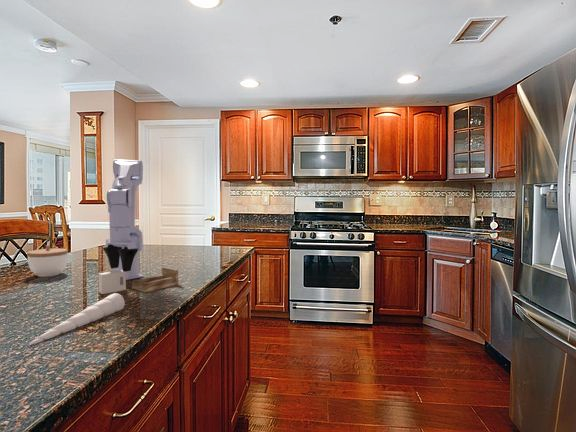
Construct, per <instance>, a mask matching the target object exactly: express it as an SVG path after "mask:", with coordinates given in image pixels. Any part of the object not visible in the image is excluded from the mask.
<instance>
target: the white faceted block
mask: <svg viewBox="0 0 576 432" xmlns="http://www.w3.org/2000/svg"><path fill="white" fill-rule="evenodd" d="M97 277H98V293H99V294H101V295H106V294H113V293H117V292H123V291H126V290H127V283H126V281H127V280H126V272H124V271H123V270H118V271H111V272H109V271H105V272H98V276H97Z"/></svg>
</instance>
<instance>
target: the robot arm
mask: <svg viewBox="0 0 576 432" xmlns="http://www.w3.org/2000/svg"><path fill="white" fill-rule="evenodd" d="M143 164H144V163H143V161H142V160H141V159H139V160H137V159H117V158H115V159H113V161H112V173H113V176H114V179H113V181H112V185H111V189H110V190H106V191H107V192H106V204H107V211H108V214H109V215H108V217H109V219H108V220H109V238H108V239H105V245H106V246H104V247H102V250H103V251H104V253H105V255H106V256H107V261H108V260H109V263H110V267H111V268H112V269H113V271H118V270H123V271H124V272H126V281H128V280H132V279H133V280H135V279H138V278H139V279H140V278H144V277H145V275H144V274H141V273H140V262H139V261H140V256H139V255H140V253H141V252H142V251H143V248H144V241H143V240H144V239H143V237H144V236H143V232H142V230H140V228H138V227H136V196H137V195H136V194H137V193H136V192H137V189H138V186H139V185H141V184H143V175H144V168H143V167H144V165H143Z"/></svg>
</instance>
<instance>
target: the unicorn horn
mask: <svg viewBox="0 0 576 432" xmlns="http://www.w3.org/2000/svg"><path fill="white" fill-rule="evenodd" d="M124 306H125V299H124V297H123V295H121V294H120V293H117V292H113V293H110V294H109V295H107V296H106V297H104V298H102V299H101V300H99V301H97V302H95V303H94V304H92V305H89V307H86V308H85V309H82V310H81V311H80V312H77V313H76V314H74V315H72V316H71V317H69V318H67V319H66V320H64V321H62V322H60V323H58V324H57V325H56V326H54V327H52V328H50V329H49V330H48V331H45V332H44V333H42V334H41V335H40V336H37V337H36V338H35V339H33V340H31V342H29V343H28V345H27V346H33V345H36V344H39V343H42V342H45V340H49V339H52V338H54V337H57V336H60V335H61V334H65V333H67V332H70V331H72V330H75V329H77V328H80V327H83V326H85V325H88V324H90V323H91V322H92V323H93V322H95V321H98V320H100V319H102V318H105V317H107V316H110V315H113V314H115V313H118V312H120V311H122V310H123V309H124V308H125V307H124Z"/></svg>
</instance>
